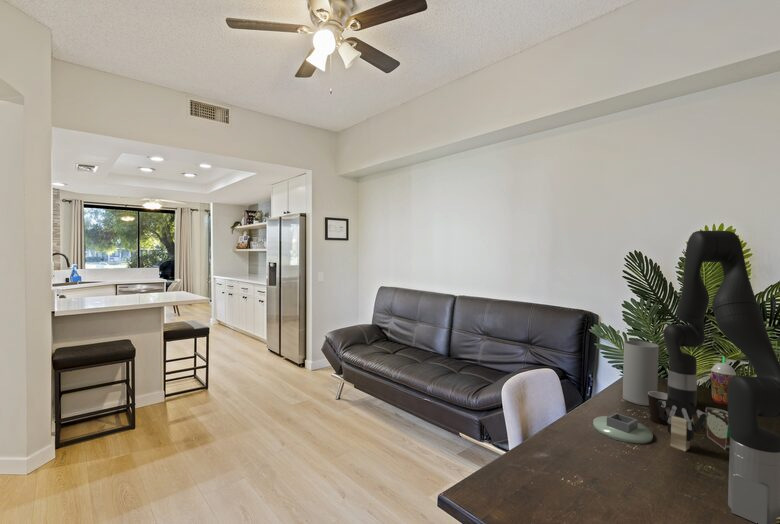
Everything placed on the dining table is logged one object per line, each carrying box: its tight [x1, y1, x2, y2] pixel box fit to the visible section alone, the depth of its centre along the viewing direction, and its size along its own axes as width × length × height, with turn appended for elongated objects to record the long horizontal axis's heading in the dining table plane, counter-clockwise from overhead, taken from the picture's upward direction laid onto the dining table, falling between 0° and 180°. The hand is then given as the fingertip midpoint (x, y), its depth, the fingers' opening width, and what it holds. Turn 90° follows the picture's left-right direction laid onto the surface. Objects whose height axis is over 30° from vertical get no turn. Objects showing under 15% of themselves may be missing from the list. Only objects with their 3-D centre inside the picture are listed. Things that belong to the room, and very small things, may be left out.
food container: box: [704, 406, 730, 451], centre depth 125 cm, size 12×6×10 cm, turn 168°
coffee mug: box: [648, 391, 671, 426], centre depth 141 cm, size 12×9×10 cm
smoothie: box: [710, 356, 737, 406], centre depth 162 cm, size 8×8×20 cm
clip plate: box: [592, 412, 654, 445], centre depth 133 cm, size 18×18×4 cm
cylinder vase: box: [622, 340, 660, 407], centre depth 162 cm, size 12×12×25 cm
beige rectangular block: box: [670, 416, 691, 452], centre depth 122 cm, size 4×4×10 cm
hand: (680, 437), depth 122 cm, fingers closed on beige rectangular block, 4 cm apart
